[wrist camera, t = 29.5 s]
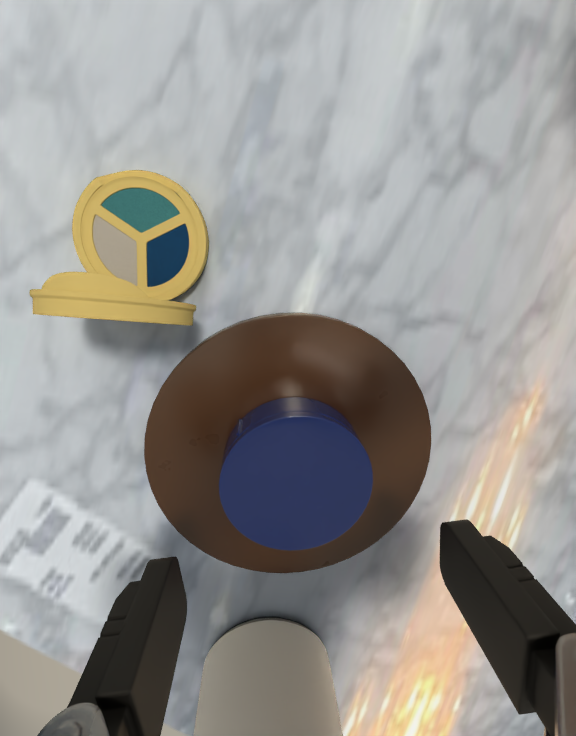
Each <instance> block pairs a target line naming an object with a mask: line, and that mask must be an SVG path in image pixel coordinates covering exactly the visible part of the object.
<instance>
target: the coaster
mask: <svg viewBox="0 0 576 736" xmlns="http://www.w3.org/2000/svg"><path fill="white" fill-rule="evenodd" d="M288 397H303V398H310V399H314V400H318V401H320V402H323V403H325V404H327V405H329V406H331V407H333V408H334V409H336V410H337V411H338V412H340V413H341V414H342V415H343V416H344V417H345V418H346V419H347V420H348V422H349V423H350V424H351V426H352V427H353V429H354V431H355V432H356V434H357V436H358V438H359V439H360V441H361V443H362V445H363V446H364V448H365V450H366V452H367V454H368V456H369V459H370V462H371V466H372V471H373V486H372V492H371V496H370V499H369V502H368V504H367V507H366V508H365V510H364V512H363V514H362V515H361V516H360V518H359V519H358V520H357V522H356V523H355V524H354V525H353V526H352V527H351V528H350V529H349V530H347V531H346V532H345V533H344V534H342V535H341V536H339V537H338V538H336V539H334V540H332V541H330V542H328V543H326V544H324V545H321V546H318V547H314V548H310V549H305V550H292V551H289V550H278V549H273V548H269V547H266V546H263V545H260V544H258V543H256V542H254V541H252V540H250V539H249V538H247V537H245V536H244V535H243V534H242V533H240V532H239V531H238V530H237V529H236V528H235V527H234V526H233V524H232V523H231V522H230V520H229V519H228V517H227V515H226V514H225V512H224V510H223V507H222V504H221V501H220V495H219V478H220V471H221V466H222V460H223V455H224V450H225V446H226V443H227V440H228V438H229V436H230V434H231V432H232V430H233V429H234V427H235V426H236V425H237V424H238V420H239V419H242V418H243V417H244V416H245V415H246V414H248V413H249V412H250V411H252V410H253V409H255V408H256V407H258V406H260V405H262V404H264V403H267V402H269V401H272V400H276V399H280V398H288ZM430 449H431V426H430V420H429V414H428V409H427V406H426V403H425V400H424V397H423V394H422V392H421V390H420V388H419V386H418V384H417V382H416V380H415V378H414V377H413V375H412V374H411V372H410V371H409V369H408V368H407V367H406V365H405V364H404V363H403V362H402V361H401V360H400V359H399V357H398V356H397V355H396V354H395V353H394V352H393V351H392V350H391V349H389V348H388V347H387V346H386V345H384V344H383V343H382V342H380V341H379V340H378V339H377V338H375V337H373V336H372V335H370V334H368V333H367V332H365V331H363V330H361V329H360V328H358V327H356V326H353V325H351V324H348V323H346V322H343V321H341V320H338V319H334V318H330V317H326V316H322V315H317V314H308V313H276V314H270V315H263V316H258V317H255V318H251V319H248V320H244V321H241V322H238V323H236V324H234V325H231V326H229V327H227V328H224V329H222V330H220V331H219V332H217V333H215V334H214V335H212V336H210V337H209V338H207V339H206V340H204V341H203V342H202V343H200V344H199V345H198V346H197V347H195V348H194V349H193V350H192V351H190V352H189V353H188V354H187V355H186V356H185V358H184V359H183V360H182V361H181V362H180V363H179V364H178V365H177V366H176V367H175V368H174V370H173V371H172V373H171V374H170V375H169V377H168V378H167V380H166V381H165V383H164V384H163V385H162V387H161V389H160V391H159V393H158V395H157V397H156V399H155V401H154V403H153V406H152V409H151V412H150V415H149V418H148V422H147V428H146V433H145V449H144V457H145V464H146V472H147V476H148V479H149V483H150V486H151V490H152V492H153V494H154V496H155V499H156V501H157V503H158V505H159V507H160V508H161V510H162V511H163V513H164V514H165V516H166V518H167V519H168V520H169V521H170V523H171V524H172V525H173V526H174V527H175V528H176V530H177V531H178V532H179V533H180V534H181V535H182V536H184V537H185V538H186V539H187V540H188V541H189V542H190V543H192V544H193V545H195V546H196V547H197V548H199V549H200V550H202V551H203V552H205V553H207V554H209V555H210V556H212V557H214V558H216V559H218V560H220V561H223V562H226V563H228V564H231V565H233V566H237V567H241V568H244V569H248V570H253V571H260V572H267V573H293V572H304V571H309V570H315V569H319V568H323V567H326V566H330V565H333V564H336V563H338V562H341V561H343V560H346V559H348V558H350V557H352V556H354V555H356V554H358V553H360V552H362V551H364V550H365V549H367V548H368V547H370V546H371V545H372V544H374V543H375V542H377V541H378V540H379V539H381V538H382V537H383V536H384V535H385V534H386V533H388V532H389V531H390V530H391V529H392V528H393V527H394V526H395V525H396V523H397V522H398V521H399V520H400V519H401V518H402V517H403V515H404V514H405V513H406V511H407V510H408V509H409V507H410V506H411V504H412V502H413V501H414V499H415V497H416V495H417V494H418V492H419V490H420V487H421V485H422V482H423V480H424V477H425V474H426V470H427V467H428V463H429V458H430Z"/></svg>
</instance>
